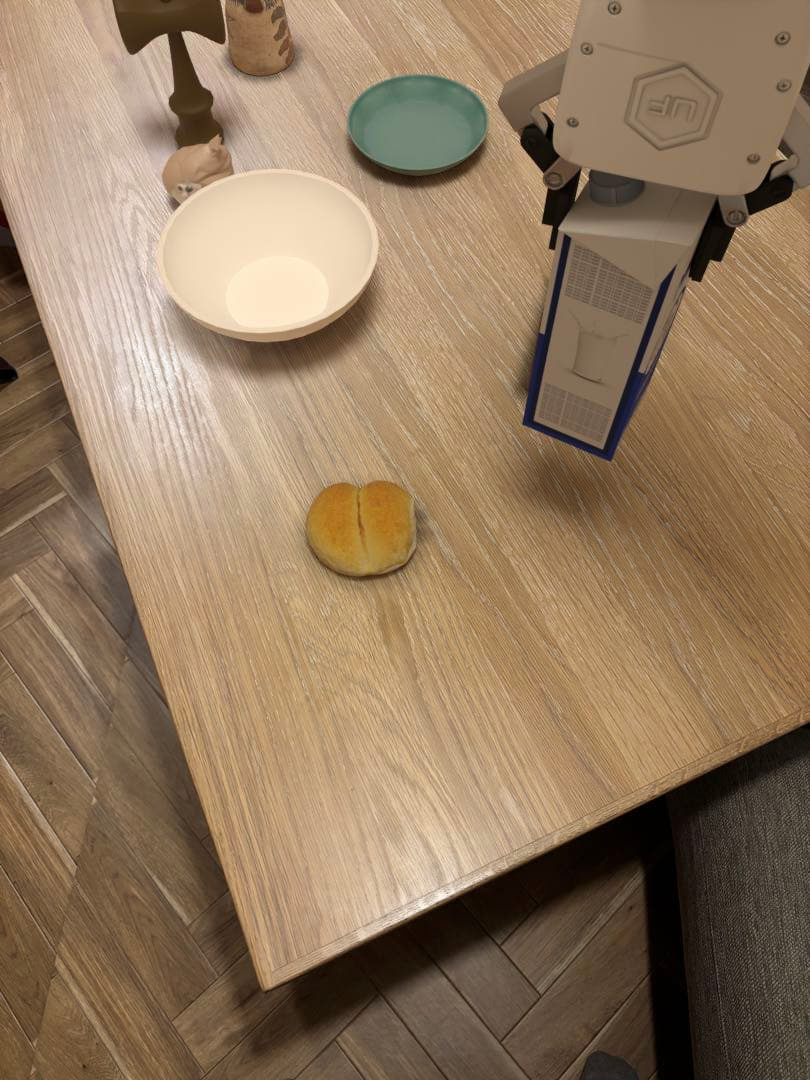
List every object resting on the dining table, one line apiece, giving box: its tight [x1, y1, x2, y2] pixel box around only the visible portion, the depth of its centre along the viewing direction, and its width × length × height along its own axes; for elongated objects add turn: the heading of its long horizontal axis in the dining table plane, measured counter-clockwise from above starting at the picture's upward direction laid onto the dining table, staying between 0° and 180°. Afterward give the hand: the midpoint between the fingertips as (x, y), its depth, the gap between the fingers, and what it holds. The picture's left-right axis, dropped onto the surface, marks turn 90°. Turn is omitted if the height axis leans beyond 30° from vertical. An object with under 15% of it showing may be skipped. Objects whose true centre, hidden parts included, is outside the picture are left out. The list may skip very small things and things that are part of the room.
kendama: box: [111, 0, 227, 149], centre depth 83 cm, size 6×10×20 cm, turn 103°
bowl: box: [156, 168, 380, 343], centre depth 79 cm, size 20×20×7 cm
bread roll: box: [305, 480, 418, 577], centre depth 69 cm, size 8×9×4 cm
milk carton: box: [521, 169, 718, 463], centre depth 53 cm, size 7×7×20 cm
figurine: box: [224, 0, 295, 77], centre depth 93 cm, size 7×7×12 cm
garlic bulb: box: [161, 134, 235, 205], centre depth 84 cm, size 7×6×8 cm
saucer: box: [346, 73, 490, 177], centre depth 91 cm, size 15×15×3 cm
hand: (628, 246), depth 48 cm, fingers closed on milk carton, 7 cm apart
